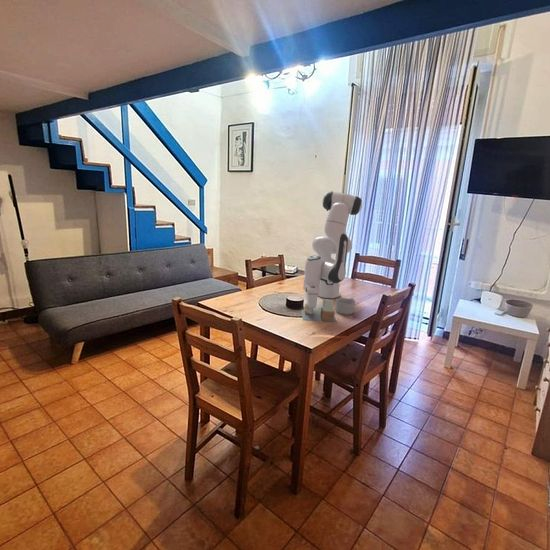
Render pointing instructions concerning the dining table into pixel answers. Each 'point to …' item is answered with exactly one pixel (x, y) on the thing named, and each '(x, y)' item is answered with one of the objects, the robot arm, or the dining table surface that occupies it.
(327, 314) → the walnut base block
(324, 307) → the sage top block
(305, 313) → the beech cylinder
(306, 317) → the slate board
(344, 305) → the teacup
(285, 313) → the dining table surface
